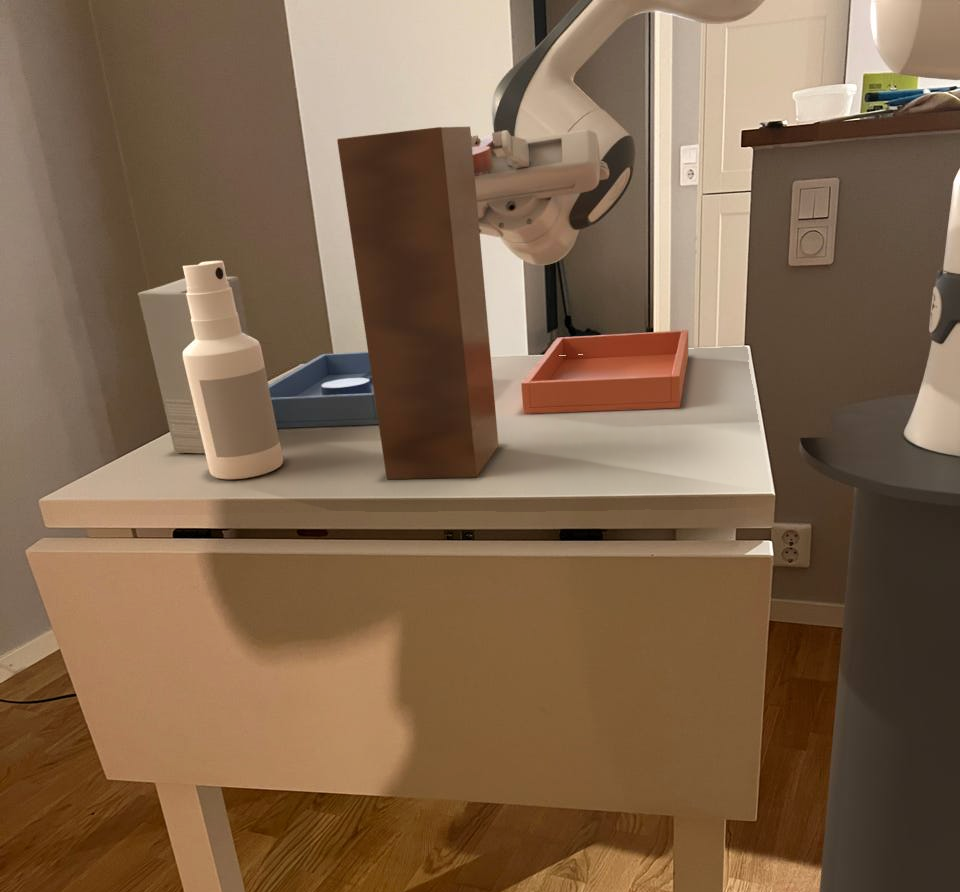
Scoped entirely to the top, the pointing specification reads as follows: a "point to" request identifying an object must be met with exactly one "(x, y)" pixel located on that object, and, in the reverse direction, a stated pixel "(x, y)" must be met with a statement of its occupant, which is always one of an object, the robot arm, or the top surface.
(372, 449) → the top surface
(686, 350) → the terracotta tray
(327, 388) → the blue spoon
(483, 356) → the tall brown block
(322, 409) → the blue tray
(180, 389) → the cosmetic box
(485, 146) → the terracotta spoon
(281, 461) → the spray bottle
